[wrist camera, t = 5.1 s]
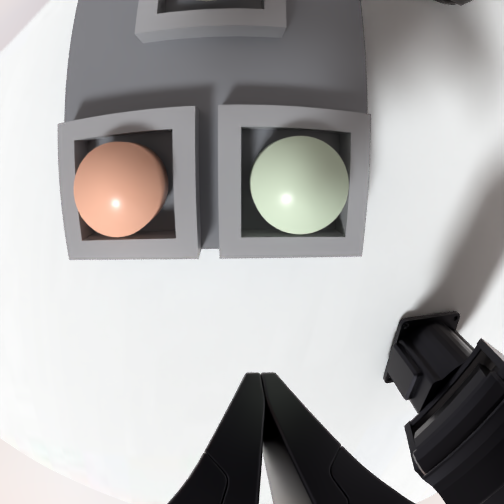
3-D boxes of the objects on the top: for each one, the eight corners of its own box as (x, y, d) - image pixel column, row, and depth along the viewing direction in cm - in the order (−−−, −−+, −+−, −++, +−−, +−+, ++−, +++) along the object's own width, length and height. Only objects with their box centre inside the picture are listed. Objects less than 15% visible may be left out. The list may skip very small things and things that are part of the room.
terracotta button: (167, 138, 13) (158, 137, 11) (170, 225, 14) (162, 235, 13) (88, 147, 13) (71, 147, 11) (94, 228, 14) (78, 238, 13)
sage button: (337, 140, 14) (350, 139, 12) (333, 224, 15) (345, 234, 13) (249, 136, 13) (251, 134, 12) (248, 224, 15) (251, 234, 13)
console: (337, -31, 13) (359, -63, 9) (342, 232, 19) (370, 256, 15) (105, -25, 12) (81, -53, 8) (94, 236, 18) (61, 259, 14)
